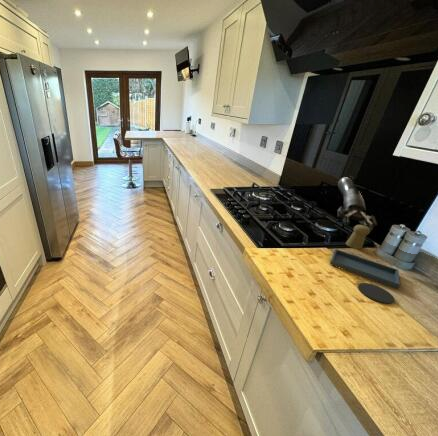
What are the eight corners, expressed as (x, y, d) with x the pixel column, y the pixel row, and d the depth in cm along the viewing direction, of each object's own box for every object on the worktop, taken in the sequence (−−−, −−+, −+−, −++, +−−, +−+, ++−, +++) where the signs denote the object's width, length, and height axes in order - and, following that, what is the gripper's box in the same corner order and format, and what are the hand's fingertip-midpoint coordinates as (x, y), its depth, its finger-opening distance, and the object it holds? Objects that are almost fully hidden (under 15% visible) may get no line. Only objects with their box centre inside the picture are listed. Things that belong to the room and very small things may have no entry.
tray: (395, 274, 87) (398, 269, 86) (397, 289, 80) (400, 284, 79) (333, 252, 99) (335, 248, 98) (329, 264, 91) (331, 260, 90)
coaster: (393, 293, 78) (393, 292, 78) (394, 308, 72) (395, 307, 72) (358, 280, 83) (359, 279, 83) (356, 293, 77) (357, 292, 77)
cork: (346, 243, 106) (356, 221, 101) (362, 249, 102) (374, 227, 97) (341, 247, 103) (352, 225, 98) (358, 254, 99) (370, 231, 94)
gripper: (342, 194, 112) (345, 216, 102) (377, 204, 108) (383, 228, 98) (332, 205, 117) (334, 227, 107) (365, 215, 114) (370, 239, 104)
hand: (358, 227), depth 103 cm, fingers open, 8 cm apart
